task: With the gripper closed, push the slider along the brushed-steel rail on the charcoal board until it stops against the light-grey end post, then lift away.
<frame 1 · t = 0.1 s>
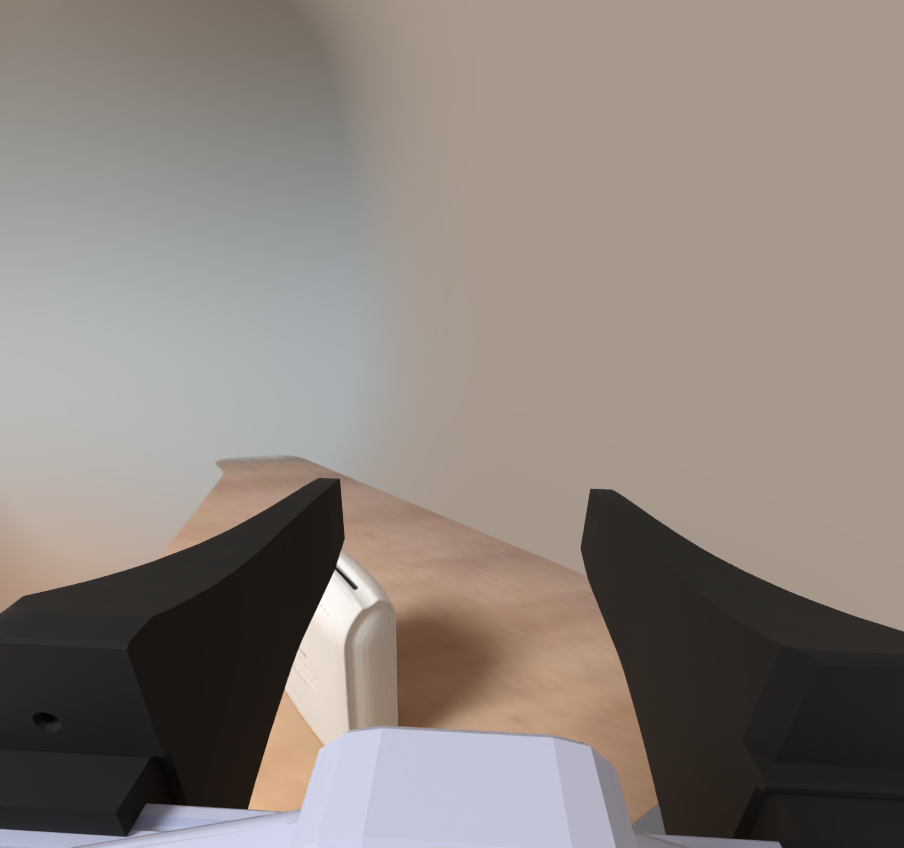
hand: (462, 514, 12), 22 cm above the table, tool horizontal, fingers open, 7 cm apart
photo printer: (335, 711, 29), on the table
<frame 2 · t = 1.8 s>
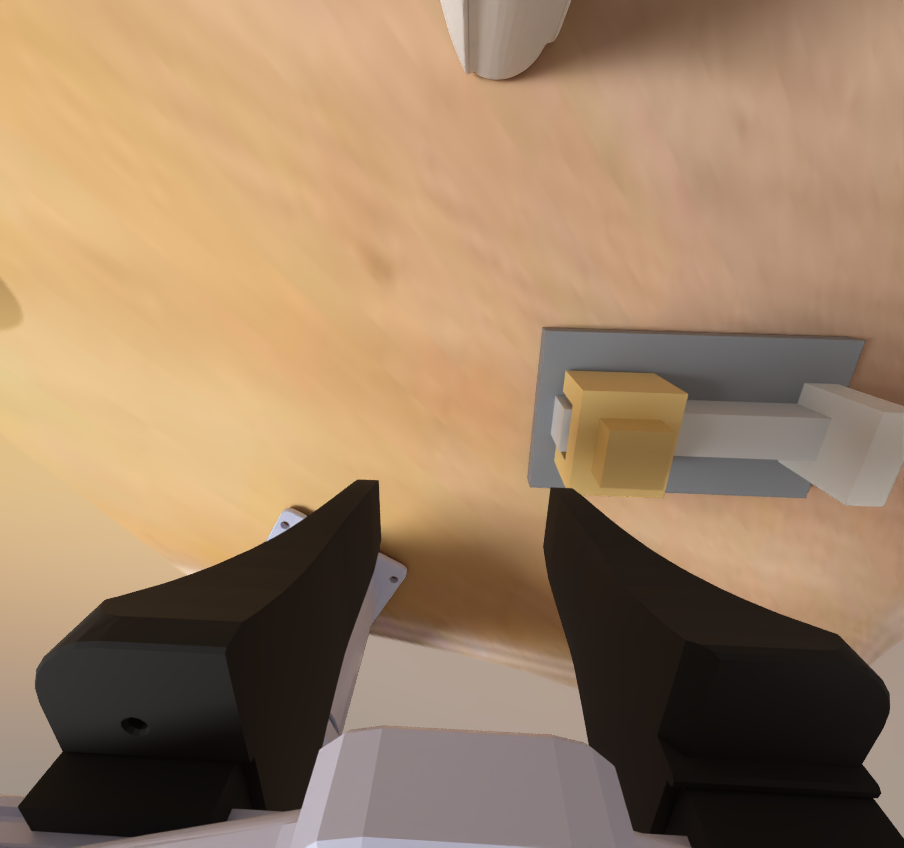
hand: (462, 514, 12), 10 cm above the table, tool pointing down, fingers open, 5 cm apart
slider: (617, 437, 18), point 4 cm above the table, slide at 0.0 cm
rail board: (674, 412, 21), on the table
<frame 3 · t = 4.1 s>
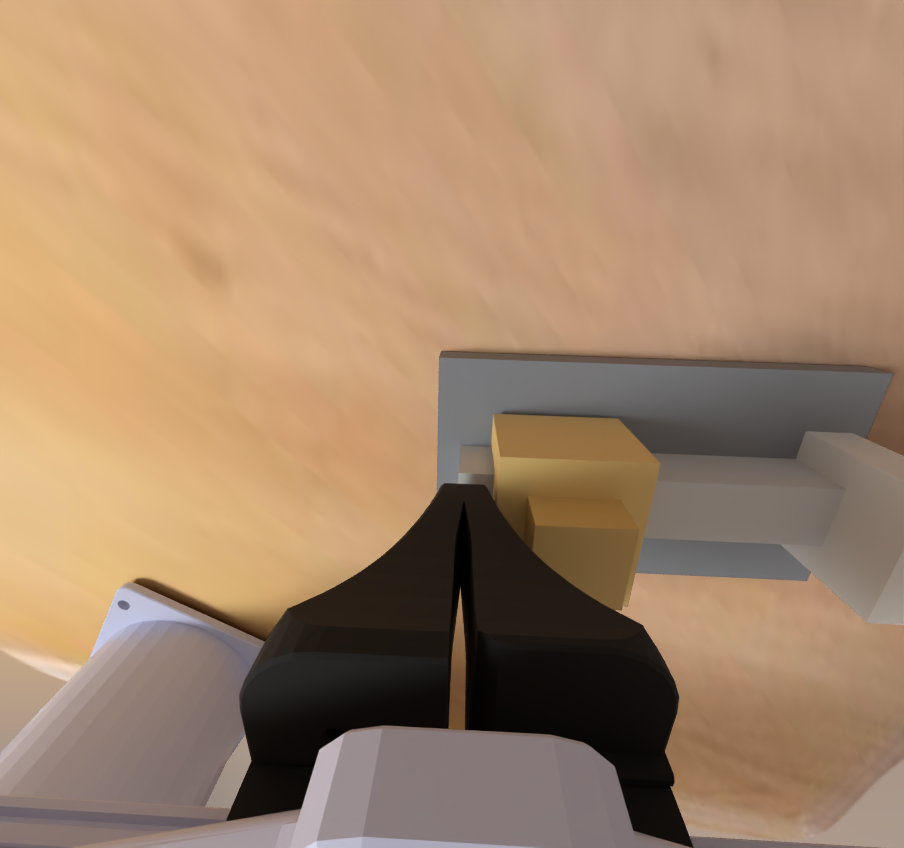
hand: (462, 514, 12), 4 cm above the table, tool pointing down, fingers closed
slider: (561, 516, 12), point 4 cm above the table, slide at 0.8 cm, touching gripper
rail board: (629, 466, 16), on the table
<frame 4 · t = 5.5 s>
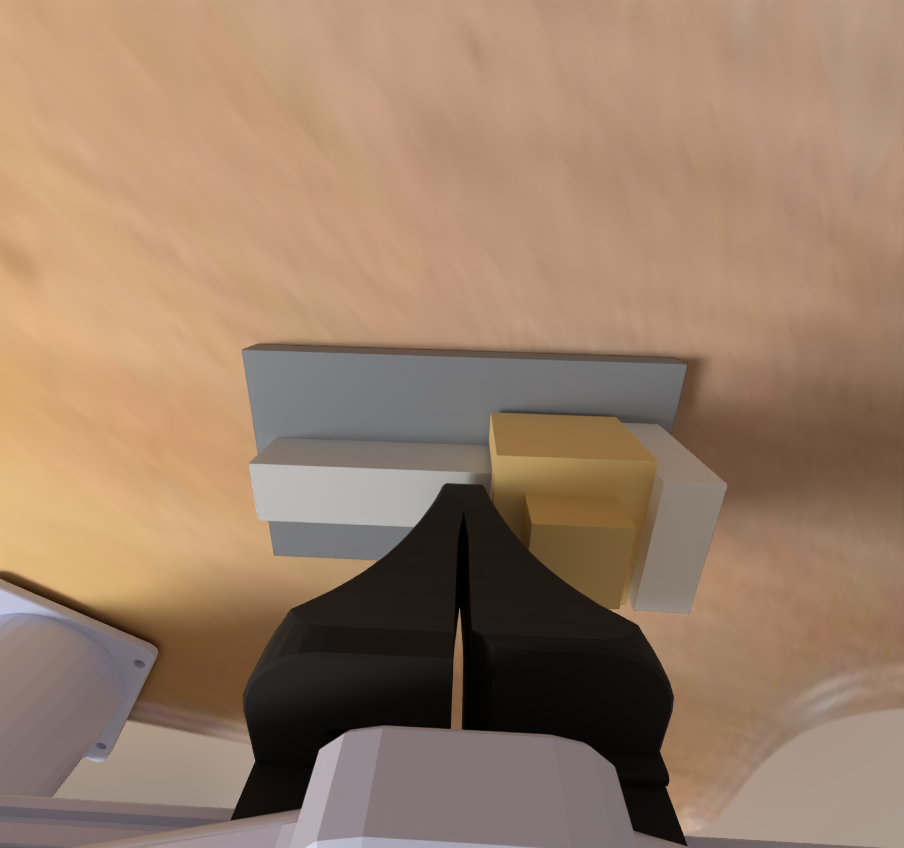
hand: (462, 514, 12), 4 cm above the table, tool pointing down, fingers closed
slider: (558, 515, 12), point 4 cm above the table, slide at 7.0 cm, touching gripper, rail board
rail board: (458, 458, 16), on the table
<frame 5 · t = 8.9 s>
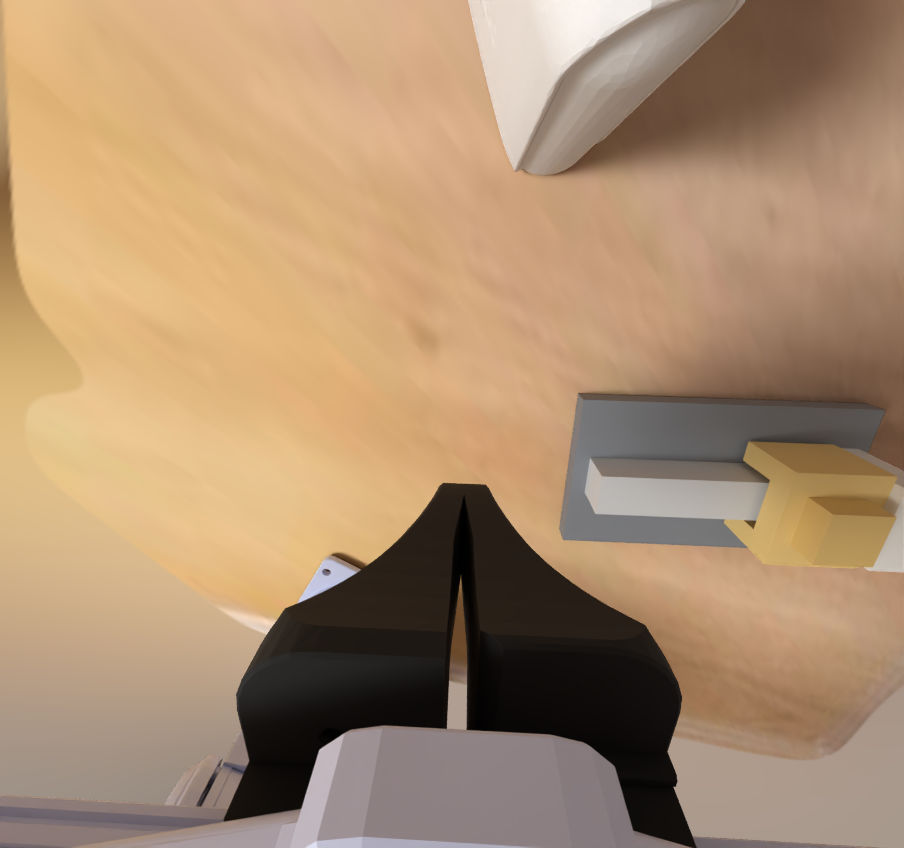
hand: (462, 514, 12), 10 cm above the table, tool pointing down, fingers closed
slider: (810, 510, 19), point 4 cm above the table, slide at 7.0 cm, touching rail board
photo printer: (527, 27, 16), on the table
rail board: (701, 470, 22), on the table
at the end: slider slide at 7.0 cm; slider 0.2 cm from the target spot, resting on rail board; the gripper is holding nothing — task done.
